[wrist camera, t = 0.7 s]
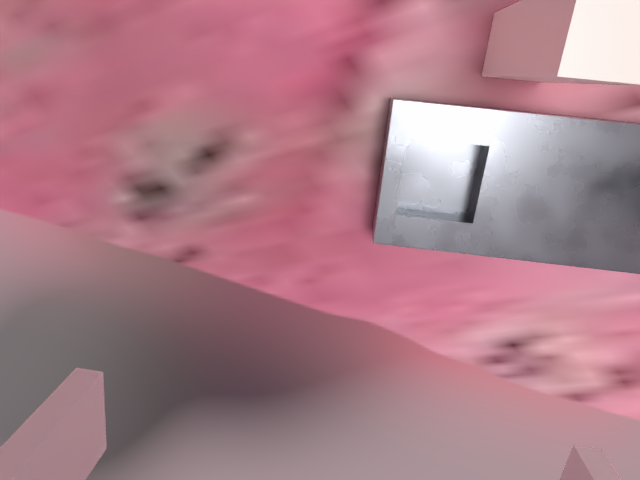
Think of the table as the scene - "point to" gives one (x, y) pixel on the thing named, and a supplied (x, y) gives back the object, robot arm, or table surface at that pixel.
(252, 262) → the table surface
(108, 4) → the table surface
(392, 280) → the table surface
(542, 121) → the grey and white block
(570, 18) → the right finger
